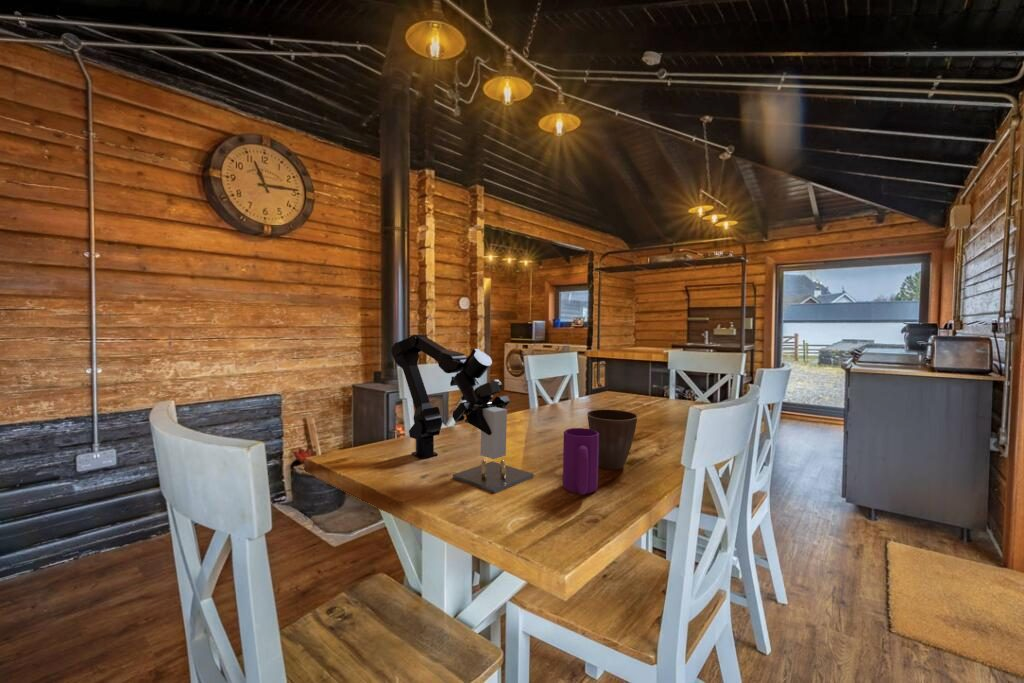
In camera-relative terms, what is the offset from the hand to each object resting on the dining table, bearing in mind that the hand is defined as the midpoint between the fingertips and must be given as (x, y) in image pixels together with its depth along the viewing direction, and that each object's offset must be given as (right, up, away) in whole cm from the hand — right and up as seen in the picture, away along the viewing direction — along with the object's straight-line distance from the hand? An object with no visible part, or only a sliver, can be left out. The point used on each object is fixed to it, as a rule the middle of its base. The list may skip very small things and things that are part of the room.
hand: (497, 432), depth 120 cm
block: (-1, -7, +1) cm, 7 cm away
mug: (+22, -14, -8) cm, 27 cm away
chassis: (-1, -13, +1) cm, 13 cm away
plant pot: (+34, -13, +13) cm, 39 cm away
